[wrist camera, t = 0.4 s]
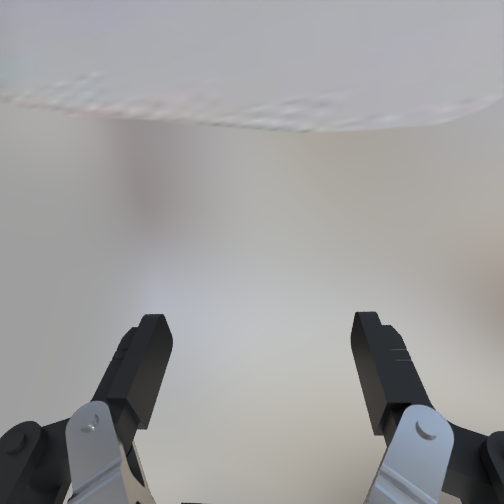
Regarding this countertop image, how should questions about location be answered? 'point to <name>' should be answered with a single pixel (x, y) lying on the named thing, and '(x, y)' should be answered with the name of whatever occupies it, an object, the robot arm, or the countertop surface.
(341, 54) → the countertop surface
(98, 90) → the countertop surface
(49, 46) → the countertop surface
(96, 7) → the countertop surface
